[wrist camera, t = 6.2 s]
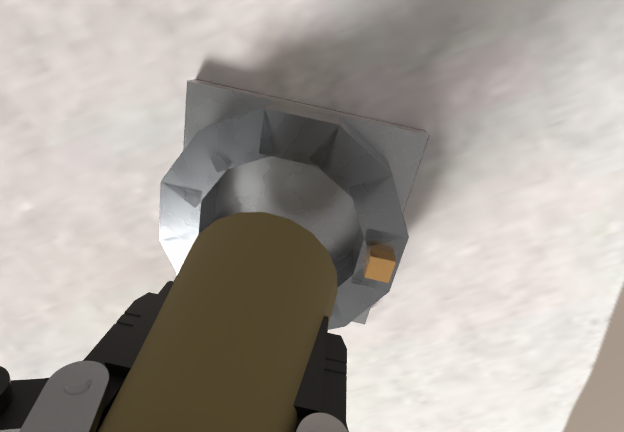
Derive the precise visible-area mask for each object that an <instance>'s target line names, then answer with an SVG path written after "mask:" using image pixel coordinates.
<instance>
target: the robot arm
mask: <svg viewBox="0 0 624 432" xmlns="http://www.w3.org/2000/svg"><path fill="white" fill-rule="evenodd" d="M173 283H174V282H173V281H169V282H167V283H166V285H165V286H164V287H163V288H162V290H161V291H160V292H159V294H154V293H147V294H145V295H144V296H142V297H140V298H138V299H137V300H135V301H134V302H133V303H132V304H131V305H130V307H129V308H128V309H127V310H126V311H125V313H124V314H123V315H122V316H121V317H120V318H119V319H118V321H117V323H116V324H114V325H113V326H112V328H111V329H110V330H109V331H108V332H107V333H106V335H105V336H104V337H103V338H102V339H101V340H100V342H99V343H98V344H97V345H96V346H95V347H94V349H93V350H92V351H91V352H90V353H89V354H88V356H87V357H86V358H85V359H84V360H83V361H79V362H75V363H71V364H69V365H66V366H64V367H63V368H61V369H59V370H58V371H56V372H55V373H54V374H53V375H52V376H51V377H50V378H44V379H29V380H13V381H11V380H10V376H9V373H8V371H7V370H6V369H5V368H3V367H1V366H0V432H98V430H99V429H100V427H101V425H102V423H103V421H104V419H105V417H106V415H107V413H108V411H109V409H110V407H111V405H112V403H113V401H114V399H115V397H116V395H117V393H118V391H119V390H120V388H121V386H122V384H123V382H124V380H125V378H126V376H127V375H128V373H129V371H130V370H131V368H132V366H133V364H134V362H135V360H136V358H137V356H138V354H139V352H140V350H141V348H142V346H143V344H144V342H145V340H146V338H147V336H148V334H149V332H150V330H151V328H152V326H153V324H154V322H155V320H156V318H157V316H158V314H159V312H160V310H161V308H162V306H163V304H164V302H165V300H166V298H167V295H168V293H169V291H170V289H171V287H172V285H173ZM327 331H328V317H327V316H324V318H323V320H322V323H321V326H320V328H319V331H318V334H317V337H316V340H315V343H314V346H313V349H312V352H311V355H310V358H309V360H308V363H307V366H306V369H305V372H304V375H303V378H302V381H301V384H300V387H299V390H298V393H297V395H296V398H295V401H294V404H293V406H294V408H295V409H296V411H297V422H296V427H295V432H349V431H348V428H347V424H346V379H347V376H346V374H347V365H346V363H347V348H346V346H345V344H344V342H343V339H342V337H341V336H340V335H335V334H331V333H327Z"/></svg>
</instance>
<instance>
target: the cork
mask: <svg viewBox="0 0 624 432" xmlns="http://www.w3.org/2000/svg"><path fill="white" fill-rule="evenodd" d="M336 296H337V271H336V269H335V266H334V264H333V262H332V259H331V257H330V255H329V252H328V250H327V249H326V248H325V247H324V246H323V245H322V244H321V242H320V241H319V240H318V239H317V238H316V237H315V236H314V235H313V233H312V232H310V231H308V230H307V229H305V228H303V227H302V226H300V225H299V224H297V223H295V222H294V221H292V220H291V219H288V218H284V217H281V216H277V215H273V214H270V213H266V212H239V213H236V214H233V215H230V216H227V217H224V218H221V219H218V220H216V221H214V222H213V223H212V224H211V225H209V226H208V227H207V228H205V229H204V230H203V231H202V232H200V233H199V234H198V236H197V238H196V240H195V241H194V243H193V245H192V247H191V248H190V250H189V252H188V254H187V256H186V258H185V260H184V262H183V264H182V266H181V268H180V270H179V272H178V274H177V276H176V278H175V280H174V283H173V285H172V287H171V289H170V291H169V293H168V295H167V298H166V300H165V302H164V304H163V306H162V308H161V310H160V312H159V314H158V316H157V318H156V320H155V322H154V324H153V326H152V328H151V330H150V332H149V334H148V336H147V338H146V340H145V342H144V344H143V346H142V348H141V350H140V352H139V354H138V356H137V358H136V360H135V362H134V364H133V366H132V368H131V370H130V371H129V373H128V375H127V376H126V378H125V380H124V382H123V384H122V386H121V388H120V390H119V391H118V393H117V395H116V397H115V399H114V401H113V403H112V405H111V407H110V409H109V411H108V413H107V415H106V417H105V419H104V421H103V423H102V425H101V427H100V429H99V430H98V432H295V427H296V422H297V411H296V409H295V408H294V406H293V404H294V401H295V398H296V395H297V393H298V390H299V387H300V384H301V381H302V378H303V375H304V372H305V369H306V366H307V363H308V360H309V358H310V355H311V352H312V349H313V346H314V343H315V340H316V337H317V334H318V331H319V328H320V326H321V323H322V320H323V318H324V316H327V317H328V325H329V321H330V317H331V314H332V310H333V307H334V303H335V299H336Z"/></svg>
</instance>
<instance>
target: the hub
mask: <svg viewBox="0 0 624 432" xmlns="http://www.w3.org/2000/svg"><path fill="white" fill-rule="evenodd" d="M428 137H429V134H428V133H427V132H426V131H423V130H419V129H414V128H410V127H405V126H401V125H396V124H392V123H387V122H383V121H379V120H374V119H370V118H365V117H361V116H356V115H352V114H347V113H343V112H339V111H334V110H330V109H325V108H321V107H316V106H312V105H307V104H303V103H299V102H294V101H290V100H285V99H281V98H276V97H272V96H267V95H263V94H259V93H254V92H250V91H245V90H241V89H236V88H232V87H227V86H223V85H219V84H214V83H210V82H205V81H201V80H196V79H194V80H188V81H187V94H186V112H185V130H184V149H183V152H182V153H181V155H180V156H179V157H178V159H177V160H176V161H175V163H174V164H173V166H172V167H171V168H170V170H169V171H168V172H167V174H166V175H165V176H164V178H163V179H162V180H161V190H160V225H159V241H160V242H161V244H162V246H163V248H164V250H165V252H166V253H167V255H168V257H169V259H170V261H171V263H172V264H173V266H174V268H175V270H176V272H177V274H178V272H179V270H180V268H181V266H182V264H183V262H184V260H185V258H186V256H187V254H188V252H189V250H190V248H191V247H192V245H193V243H194V241H195V240H196V238H197V236H198V234H199V233H200V232H202V231H203V230H204V229H205V228H207V227H208V226H209V225H211V224H212V223H213V222H214V221H216V220H218V219H221V218H224V217H227V216H230V215H233V214H236V213H239V212H266V213H270V214H273V215H277V216H281V217H284V218H288V219H291V220H292V221H294V222H295V223H297V224H299V225H300V226H302V227H303V228H305V229H307V230H308V231H310V232H312V233H313V235H314V236H315V237H316V238H317V239H318V240H319V241H320V242H321V244H322V245H323V246H324V247H325V248H326V249H327V250H328V252H329V255H330V257H331V259H332V262H333V264H334V266H335V269H336V271H337V296H336V299H335V303H334V307H333V310H332V314H331V317H330V321H329V325H328V330H329V329H334V328H339V327H344V326H346V325H348V324H349V323H350V322H351V321H353V322H357V323H362V324H365V322H366V319H367V317H368V314H369V311H370V308H371V306H372V305H373V304H374V303H375V302H377V301H378V300H379V299H380V298H382V297H383V296H384V295H386V294H387V293H388V292H389V291H390V288H391V285H392V282H393V279H394V277H395V274H396V271H397V268H398V266H399V263H400V260H401V257H402V254H403V252H404V249H405V246H406V243H407V240H408V238H409V237H408V233H407V229H406V225H405V221H404V217H403V211H404V208H405V205H406V202H407V199H408V196H409V193H410V190H411V187H412V184H413V181H414V178H415V176H416V173H417V170H418V167H419V164H420V161H421V158H422V155H423V152H424V149H425V146H426V143H427V140H428Z"/></svg>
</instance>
